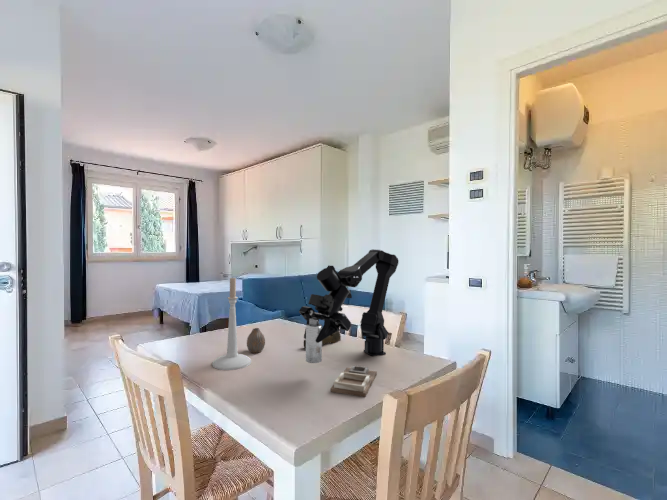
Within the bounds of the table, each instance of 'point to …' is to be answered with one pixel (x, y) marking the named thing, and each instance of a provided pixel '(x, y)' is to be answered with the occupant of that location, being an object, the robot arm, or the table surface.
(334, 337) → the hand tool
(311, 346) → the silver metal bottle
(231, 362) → the candlestick
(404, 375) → the table surface
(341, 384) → the socket board
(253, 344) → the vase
